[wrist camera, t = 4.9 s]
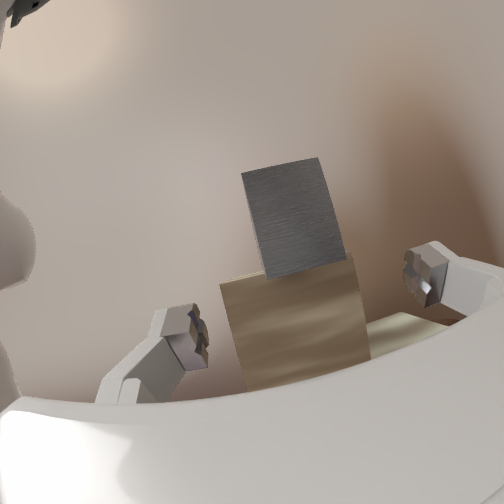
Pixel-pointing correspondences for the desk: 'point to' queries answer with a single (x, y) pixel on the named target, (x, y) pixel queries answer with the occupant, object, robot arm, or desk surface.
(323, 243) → the bar
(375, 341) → the stepped stand
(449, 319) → the desk surface
